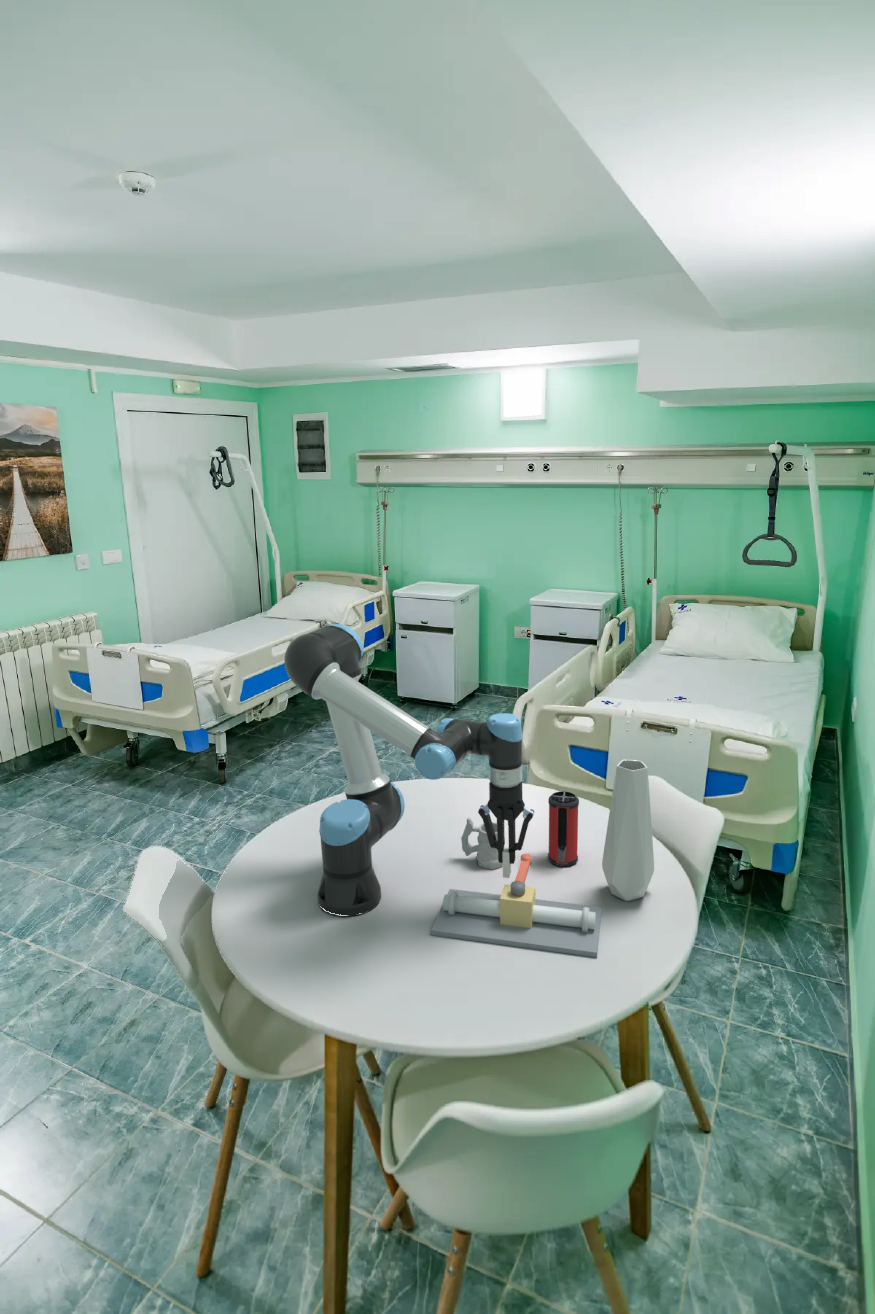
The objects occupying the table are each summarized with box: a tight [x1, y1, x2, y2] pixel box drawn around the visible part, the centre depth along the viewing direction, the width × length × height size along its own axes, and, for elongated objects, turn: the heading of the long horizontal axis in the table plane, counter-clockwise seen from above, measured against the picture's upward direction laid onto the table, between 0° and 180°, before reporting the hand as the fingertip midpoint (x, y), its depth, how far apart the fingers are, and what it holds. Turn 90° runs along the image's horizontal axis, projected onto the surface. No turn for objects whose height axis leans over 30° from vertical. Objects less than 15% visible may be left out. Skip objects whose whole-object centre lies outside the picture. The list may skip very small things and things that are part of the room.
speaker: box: [547, 790, 580, 867], centre depth 194 cm, size 8×8×18 cm
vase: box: [601, 759, 655, 902], centre depth 177 cm, size 12×12×33 cm
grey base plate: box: [430, 884, 603, 958], centre depth 169 cm, size 36×17×8 cm, turn 75°
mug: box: [460, 816, 503, 870], centre depth 196 cm, size 8×12×12 cm, turn 75°
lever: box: [510, 853, 533, 896], centre depth 174 cm, size 15×3×2 cm, turn 165°
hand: (507, 874), depth 177 cm, fingers closed
